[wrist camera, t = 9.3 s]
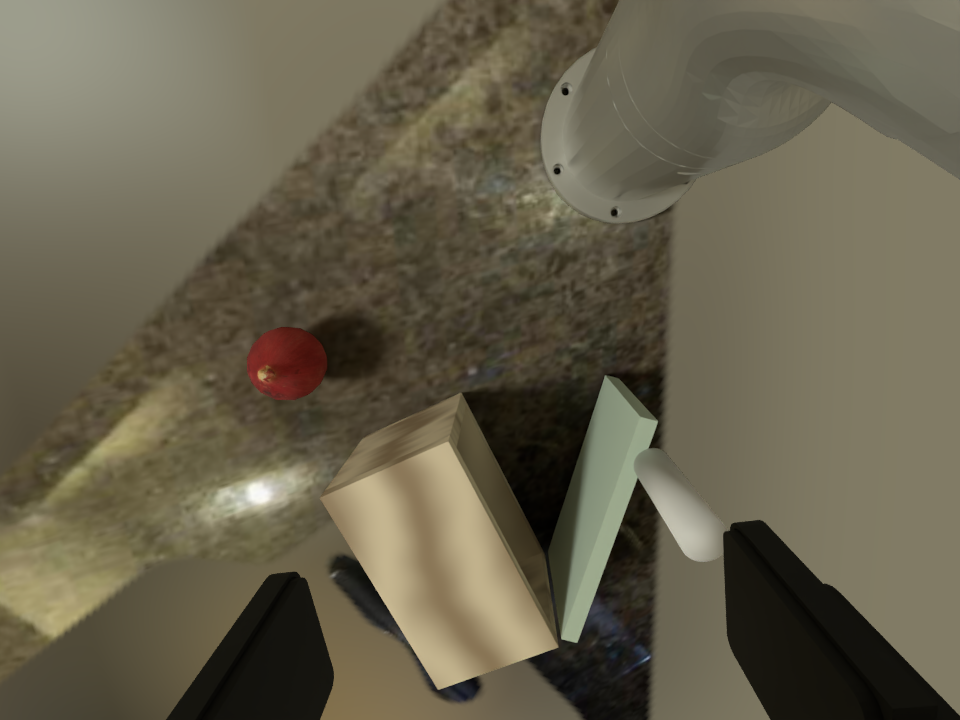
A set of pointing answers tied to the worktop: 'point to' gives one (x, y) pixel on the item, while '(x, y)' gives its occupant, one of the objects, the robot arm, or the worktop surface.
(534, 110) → the worktop surface
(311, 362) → the onion
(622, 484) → the cupboard door
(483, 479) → the cupboard
